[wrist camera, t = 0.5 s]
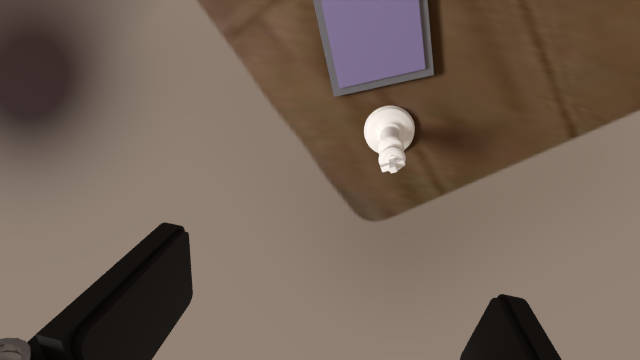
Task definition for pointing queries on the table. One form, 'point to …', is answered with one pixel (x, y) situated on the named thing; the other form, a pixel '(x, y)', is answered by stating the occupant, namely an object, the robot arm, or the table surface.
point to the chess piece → (389, 136)
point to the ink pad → (374, 42)
